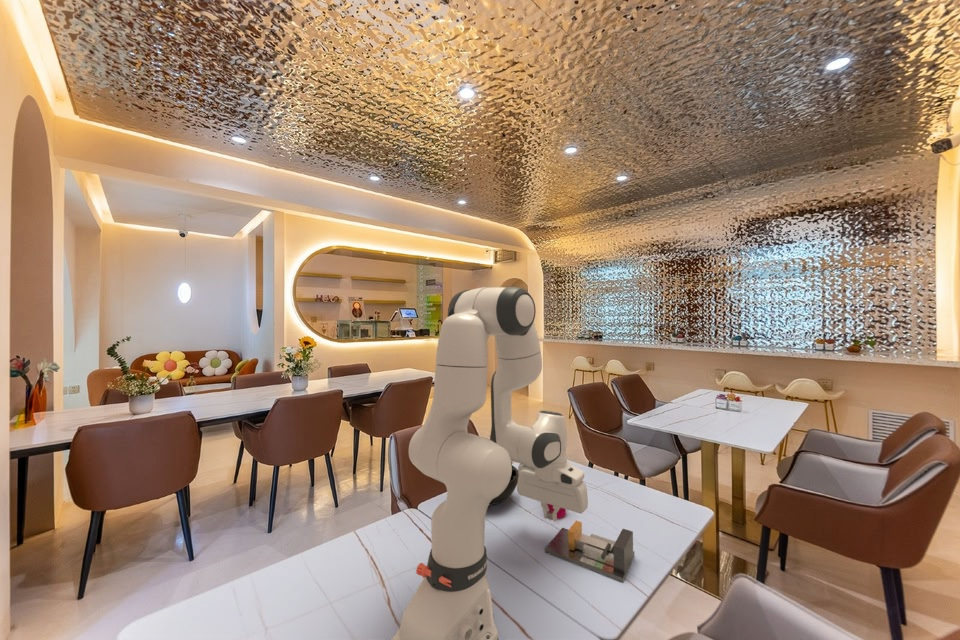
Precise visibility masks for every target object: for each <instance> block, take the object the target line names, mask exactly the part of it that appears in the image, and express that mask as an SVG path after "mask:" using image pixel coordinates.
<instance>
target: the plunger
mask: <svg viewBox="0 0 960 640" xmlns="http://www.w3.org/2000/svg"><path fill="white" fill-rule="evenodd" d="M582 526H583V522H582V521H579V520H575V521H574V522H573V524H572V525H571V526H570V528H569V529H568V549H570V550H573V551H574V550H575V549H579V550H582V551H583V546H584V544H586V545H589V546H592V547H594V548H597V549H600V550H603V553H602V555H601V559H605V557H606V555H607V553H608V552H609V553H612V554H613V546H614V544H611V543H608V542H605V541H602V540H599V539H596V538H593V537H590V535H587V534H584V533H583V527H582Z"/></svg>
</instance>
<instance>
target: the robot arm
mask: <svg viewBox="0 0 960 640" xmlns="http://www.w3.org/2000/svg"><path fill="white" fill-rule="evenodd" d="M536 311H537V310H536V304H535V301H534V298H533V296H532V295H531V294H530V293H529V292H528V290H527V289H525V288H523V287H518V286H508V287H501V286H500V287H498V286H497V287H496V286H494V287H493V286H484V287H483V286H482V287H477V288H474V289H464V290H462V291H460V292H457V293H456V294H454V295H453V296H452V298H451V299H450V301H449V304H448V308H447V317H446V318H445V319H444V320H443V322H442V324H441V327H440V331H439V335H438V340H437V347H436V355H435V369H434V385H433V395H432V401H431V406H430V409H429V412H428V415H427V417H426V420H425V421H424V423H423V425H422V426H421V427H419V429H417V430H416V431H415V433H414V434H413V435H412V437H411V439H410V441H409V445H408V457H409V460H410V462H411V463H412V465H414V467H416V469H417V470H418V471H420V472H421V474H423V475H424V476H426V477H429V478H432V479H434V480H435V481H438V482H440V483H442V484H444V486H445V488H446V492H447V493H446V500H444V501H442V502H441V503H440V504H438V505H437V507H436V508H435V509H434V511H433V513H432V514H431V521H430V522H431V524H430V525H431V527H430V529H431V531H430V532H431V549H430V551H429V556H428V559H427V564H426V565H425V564H424V563H423V562H420V563H419V564H418V565H417V567H416V571H415V572H416V574H417V575H418V576H420V577H422V581H421V582H420V584H419V586H417V589H416V591H415V592H414V595H412V597H411V600H410V601H409V602H408V605H407V606H406V608H405V609H404V611H403V613H402V617H401V619H400V620H401V621H400V628H398V630H397V632H395V634H394V635H393V637H391V639H390V640H497V639H499V631H498V628H497V626H496V623H495V620H494V611H493V610H494V609H493V601H492V592H491V588H490V585H489V581H488V578H487V570H488V554H487V548H486V545H485V538H486V537H485V535H486V534H485V532H486V530H485V528H486V526H485V525H486V516H487V515H486V514H487V510H488V507H489V505H490V504H489V503H490V502H491V500H492V499H494V498H496V497H497V496H499V495H500V494H501V493H502V492H503V491H504V490H505V489H506V487H507V486H508V484H509V481H510V478H511V474H512V466H513V462H515V463H518V467H517V470H518V474H519V476H518V482H517V486H516V491H517V493H518V495H520V496H521V497H522V496H523V497H524V498H528V499H531V500H535V501H537V502H540V507H541V508H542V510H543V512H544V518H545V519H547V520H550V521H556V520H557V512H558V510H559V509H560V508H564V509H566V510H567V511H571V512H574V513H577V514H580V515H581V514H583V513H584V512H585V511H586V510H587V509H588V506H589V499H588V496H589V495H588V489H587V485H586V483H585V482H584V481H583V480H584V478H585V472H584V471H583V470H581V469H580V468H578V467H576V466H574V465H573V464H572V463H570V462H568V456H567V453H566V448H567V446H568V433H567V421H566V417H565V416H564V415H563V414H562V413H560V412H556V411H550V410H540V411H537V416H536V420H535V422H534V424H533V425H531V426H525V425H521V424H517V422H515V421H514V420H513V417H512V394H513V392H515V391H517V390H520V389H523V388H526V387H528V386H529V385H531V384H532V383H534V382H535V381H536V380H537V379H538V377H540V375H541V372H542V371H543V359H542V352H541V351H542V350H541V344H540V339H539V336H538V332H537V331H538V330H537V328H536V325H535V319H536V313H537V312H536ZM490 336H494V339H495V349H496V356H497V369H496V370H495V371H494V372H493V374H492V376H491V382H490V406H491V407H490V411H491V413H490V415H491V428H490V436H489V438H488V437H484V436H480V435H477V434H473V433H470V432H468V425H469V422H470V418H471V417H472V414H474V413H475V412H478V411H479V410H480V409H482V408H483V406H484V405H485V403H486V401H487V388H488V385H487V384H488V365H489V364H488V362H489V361H488V360H489V359H488V357H489V356H488V351H489V350H488V340H489V338H490ZM511 461H512V462H511ZM547 504H551V505H553V509H555V510H554V511H551V510H549V508H548V505H547ZM487 638H489V639H487Z"/></svg>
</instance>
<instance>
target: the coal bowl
mask: <svg viewBox="0 0 960 640" xmlns="http://www.w3.org/2000/svg"><path fill="white" fill-rule="evenodd" d="M511 462H512V463H513V461H511ZM518 476H519V474H518V467H515V466H514V465H512V474H511V478H510V481H509V484H508V486H507V487H506V489H505V490H504V491H503V492H502V493H501V494H500V495H499V496H497V497H496V498H494V499H492V500H491V502H490V503H489V505H497V504H500V503H503V502H505V500H507V499H509V497H511V496H512V494H513V493H514V491H515V490H516V489H517V482H518Z"/></svg>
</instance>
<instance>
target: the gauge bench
mask: <svg viewBox="0 0 960 640" xmlns="http://www.w3.org/2000/svg"><path fill="white" fill-rule="evenodd" d="M568 530H569V529H567V528H565V527H561V529H560V530H559V531H558V532H557V533H556V535H555V536H554V537H553V538H552V539H551V540H550V542H549V543H547V546H545V548H544V553H546V554H547V555H551V556H553V557H556V558H557V559H562V560H564V561H566V562H569V563H571V564H574V565H576V566H579V567H582V568H584V569H587V570H589V571H592V572H595V573H597V574H600V575H603V576H605V577H608V578H609V579H613V580H616V581H618V582H621V583H624V581H625V578H626V576H627V574H628V572H629V569H630V567H631V565H632V562H633V561H634V558H635V550H634V532H633V531H632V530H629V529H625V528H622V529H621V531H620V533H619V534H618V537H617V538H616V540H612V539H610V538H606V537H603V536H599V535H597V534H594V533H591V534H590V535H589V536H590V537H593V538H596V539H599V540H602V541H605V542H608V543H611V544H614V546H613V554H612V553H609V552H608V553H607V555H606V557H605V559H601V555H602V553H603V550H600V549H597V548H594V547H592V546H589V545H586V544H584V546H583V551H582V550H579V549H575V550H574V551H573V550H570V549H568Z"/></svg>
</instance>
